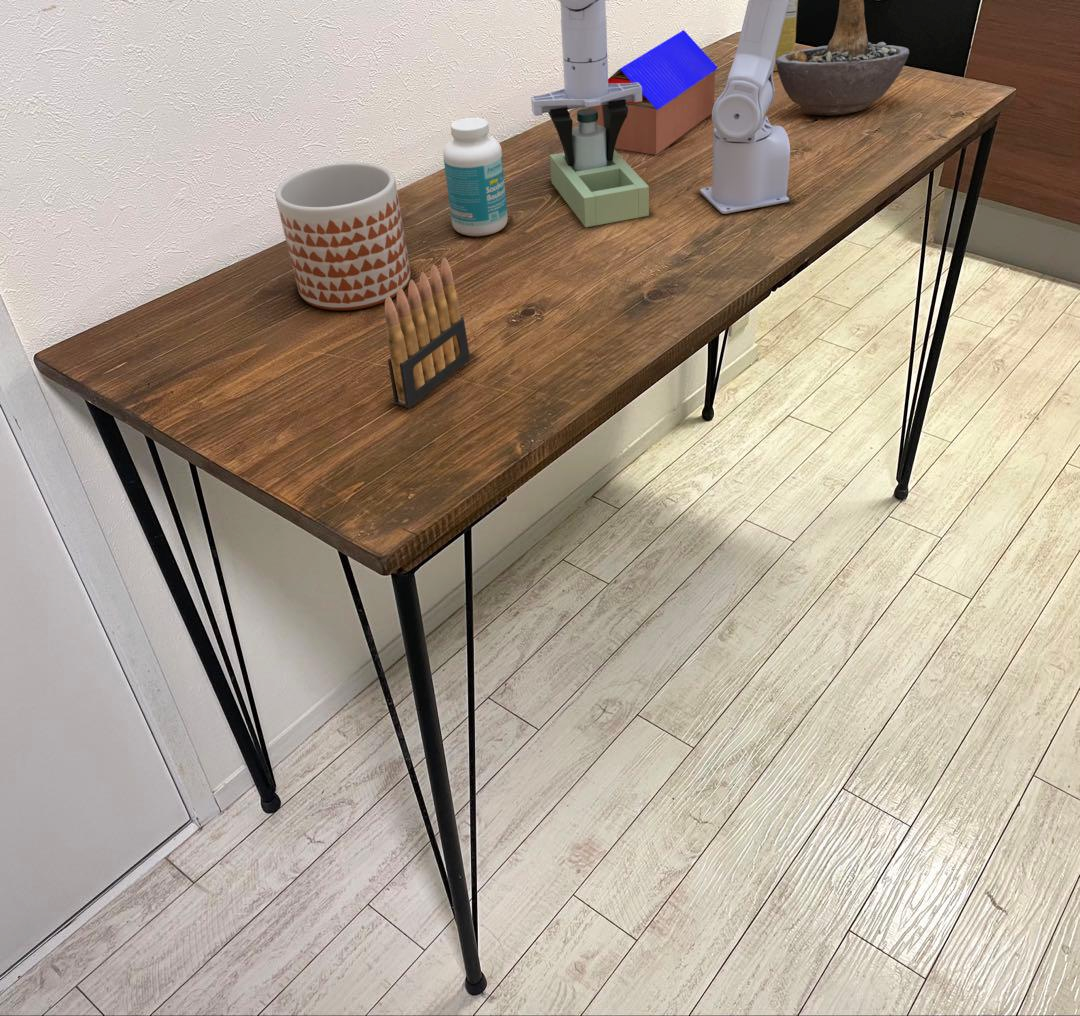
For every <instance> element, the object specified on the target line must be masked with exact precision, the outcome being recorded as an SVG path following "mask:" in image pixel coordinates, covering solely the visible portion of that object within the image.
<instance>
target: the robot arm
mask: <svg viewBox="0 0 1080 1016" xmlns="http://www.w3.org/2000/svg"><path fill="white" fill-rule="evenodd" d="M789 1H790V0H747V5H746V10H745V14H744V17H743V22H742V26H741V29H740V35H739V38H738V43H737V46H736V47H737V48H736V51H735V54H734V59H733V62H732V64H731V67H730V70H729V73H728V76H727V80H726V84H725V88H724V89H723V91H722V93H720V95H719V96H718V97H717V99H716V100H715V101H714V106H713V110H712V114H711V121H712V125H713V126H714V127H713V137H712V138H713V139H712V164H711V166H712V167H711V186H708V187H703V188H700V189H699V193H700V194H701V195H702V196H703V197H704V198H705V199H706V200H707V201H708V202H709V203H710V204H711V205H712V206H713V207H714V208H715V209H716V210H718V211H719V212H720V213H721V214H723V215H725V214H726V215H727V214H732V213H738V212H742V211H743V212H744V211H747V210H748V211H749V210H752V209H758V208H765V207H769V206H774V205H780V204H786V203H789V202H790V198H789V197H788V186H789V185H788V184H789V173H790V172H789V171H790V160H791V144H790V139H789V136H788V133H787V131H786V130H785V128H784V127H783V126H781V125H772V124H771V123H770V120H769V118H768V115H766V113H767V112H768V110H769V108H770V107H771V105H772V103H773V102H774V98H775V94H776V91H775V90H776V89H775V83H774V79H773V78H774V77H773V76H774V75H773V74H774V71H773V69H774V65H775V55H776V50H777V47H778V43H779V39H780V35H781V31H782V27H783V24H784V20H785V16H786V12H787V8H788V4H789ZM558 2H559V3H560V17H561V18H560V29H561V48H562V65H563V66H562V68H563V84H564V87H563V88H562V89H558V90H554V91H551V92H547V93H543V94H540V95H533V96H532V95H531V96H530V101H531V103H530V104H531V112H532V114H533V115H534V117H539V116H543V114H548V115H549V117H550V119H551V121H552V123H553V126H554V127H555V130H556V132H557V134H558V135H557V136H558V137H559V140H560V143H561V147H562V150H563V153H564V154H565V159H566V163H567V164H568V166H574V156H573V147H572V129H573V125H574V124H573V122H574V121H573V119H572V118H571V112H569V110H576V109H585V108H588V107H592V106H599V105H602V110H603V121H604V127H605V129H606V148H607V160H608V161H610V160H613V154H614V150H615V149H616V148H615V145H616V141H617V138H618V135H619V132H620V129H621V127H622V125H623V123H624V121H625V119H626V117H627V114H628V107H627V106H626V102H628V101H634V102H641V101H642V86H641V85H640V84H639V83H638V82H636V83H620V84H608V79H609V65H608V63H609V62H608V61H609V60H608V59H609V58H608V31H607V30H608V29H607V26H608V25H607V13H606V0H558Z"/></svg>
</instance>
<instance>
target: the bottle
mask: <svg viewBox="0 0 1080 1016" xmlns="http://www.w3.org/2000/svg"><path fill="white" fill-rule="evenodd" d="M597 120H598V110H596V109H593V108H588V107H584V108H580V109H579V110H577V111H576V121H577V122H578V125H577V126H574V127H572V147H573V156H574V166H572V169H573V170H574V171H575V172H577V171H583V170H588V169H594V168H600V167H605V166H607V148H606V129H605V127H603V126H600V125H597Z"/></svg>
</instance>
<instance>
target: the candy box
mask: <svg viewBox="0 0 1080 1016" xmlns="http://www.w3.org/2000/svg"><path fill="white" fill-rule="evenodd" d="M798 8H799V0H790V1H789V4H788V8H787V12H786V16H785V20H784V24H783V27H782V31H781V35H780V39H779V43H778V47H777V50H776V55H775V65H774V69H773V72H778V69H777V65H776V60H777V58H778V57H780V56H782V55H785V54H790V53H791V52H795V51H796V38H797V24H798V22H797V21H798Z"/></svg>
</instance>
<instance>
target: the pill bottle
mask: <svg viewBox="0 0 1080 1016" xmlns="http://www.w3.org/2000/svg"><path fill="white" fill-rule="evenodd" d="M489 132H490V128H489V122H488V120H487V119H485V118H482V117H464V118H459V119H457V120H455V121H453V122H452V123H451V124H450V135H451V136H452V138H453V139H451V140H450V141H449V142H447V143H446V144H445V147H444V149H443V154H442V155H443V164H444V173H445V179H446V187H447V195H448V203H449V212H450V218H451V225H452V228H453V230H454V231H456V232H457V233H459V234H461V235H463V236H469V237H484V236H489V235H492V234H496V233H497V232H500V231H501V230H503V229H504V228H505V227H506V226H507V223H508V221H509V220H508V205H507V194H506V185H505V173H504V172H505V171H504V162H503V160H504V159H503V150H502V146H501V144H500V142H499V141H498V140H497V139H496V138H494V137H492V136H490V133H489Z"/></svg>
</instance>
